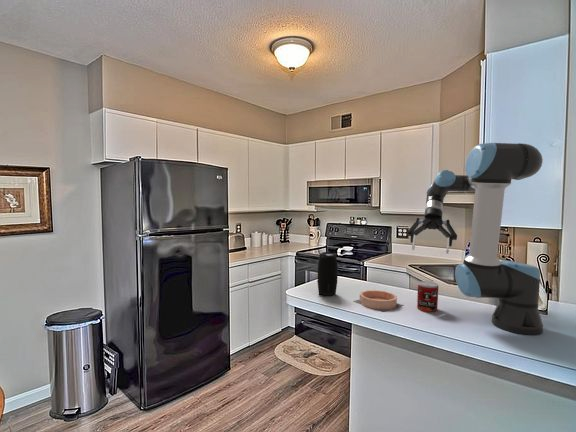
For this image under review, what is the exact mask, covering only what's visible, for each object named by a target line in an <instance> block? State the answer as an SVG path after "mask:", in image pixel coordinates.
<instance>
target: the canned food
mask: <svg viewBox="0 0 576 432" xmlns="http://www.w3.org/2000/svg"><path fill="white" fill-rule="evenodd" d="M416 298H417V299H416V302H417V303H416V308H417V310H419V311H420V312H424V313H436V312H438V306H439V305H438V302H439V284H438V283H436V282H433V281H427V280H425V281H423V280H422V281H418V283H417V297H416Z"/></svg>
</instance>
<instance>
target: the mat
mask: <svg viewBox="0 0 576 432" xmlns="http://www.w3.org/2000/svg"><path fill="white" fill-rule="evenodd" d="M352 302H353V303H356V304H359V305H361V306H363V305H362V304H361V303H360V299H357V300H353V301H352ZM400 307H401V308H402V307H404V305H403V304H401V303H398V302H397V305H396V308H392V309H382V310H380V309H375V310H377V311H379V312H381V313H385V312H388V311H392V310H394V309H397V308H400Z"/></svg>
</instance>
